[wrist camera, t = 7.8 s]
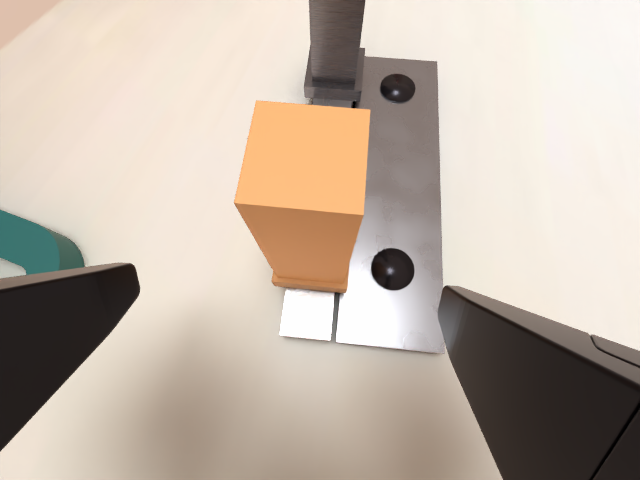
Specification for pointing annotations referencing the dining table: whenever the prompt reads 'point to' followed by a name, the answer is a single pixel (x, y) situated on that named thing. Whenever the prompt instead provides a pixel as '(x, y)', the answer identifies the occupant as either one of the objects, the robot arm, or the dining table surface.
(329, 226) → the block
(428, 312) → the bolt plate
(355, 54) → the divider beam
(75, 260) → the bracket
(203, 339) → the dining table surface
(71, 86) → the dining table surface
